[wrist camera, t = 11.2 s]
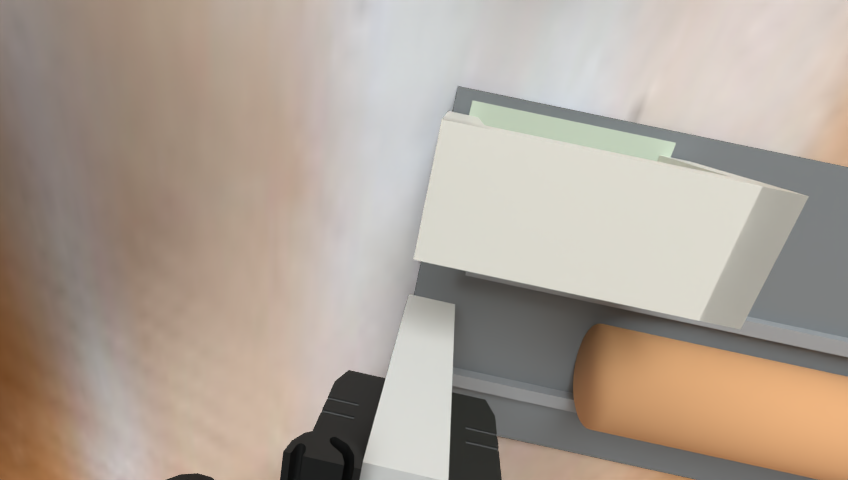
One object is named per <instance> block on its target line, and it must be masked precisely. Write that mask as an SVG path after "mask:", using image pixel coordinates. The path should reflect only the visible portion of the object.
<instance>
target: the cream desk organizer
mask: <svg viewBox="0 0 848 480" xmlns="http://www.w3.org/2000/svg"><path fill="white" fill-rule="evenodd" d="M808 197H809V196H807V195H803V194H800V193H796V192H793V191H790V190H786V189H783V188H779V187H776V186H772V185H769V184H766V183H762V182H759V181H755V180H752V179H748V178H745V177H742V176H738V175H735V174H731V173H728V172H725V171H721V170H718V169H714V168H711V167H707V166H704V165H701V164H697V163H694V162H690V161H686V160H681V159H676V158H671V157H667V156H662V155H660V156H659V158H658V161H653V160H648V159H643V158H638V157H634V156H629V155H624V154H619V153H614V152H610V151H605V150H600V149H595V148H591V147H586V146H581V145H576V144H571V143H567V142H562V141H557V140H552V139H548V138H543V137H538V136H533V135H528V134H524V133H519V132H514V131H509V130H504V129H500V128H495V127H490V126H485V125H484V124H483V123H482V121H481V120H480V119H479V117H475V116H470V115H466V114H461V113H456V112H451V111H448V112H447V113H446V114H445V116H444V117H443V118H442V120H441V125H440V130H439V135H438V140H437V145H436V150H435V155H434V160H433V165H432V170H431V175H430V180H429V185H428V189H427V194H426V199H425V204H424V209H423V214H422V219H421V224H420V229H419V234H418V239H417V244H416V249H415V254H414V259H413V260H417V261H422V262H427V263H431V264H436V265H441V266H445V267H450V268H455V269H459V270H464V271H469V272H473V273H478V274H483V275H487V276H492V277H497V278H501V279H506V280H511V281H515V282H520V283H525V284H529V285H534V286H539V287H543V288H548V289H553V290H557V291H562V292H567V293H571V294H576V295H581V296H585V297H590V298H595V299H599V300H604V301H609V302H613V303H618V304H623V305H627V306H632V307H637V308H641V309H646V310H651V311H655V312H660V313H665V314H669V315H674V316H679V317H683V318H688V319H693V320H697V321H702V322H707V323H711V324H716V325H721V326H725V327H730V328H735V329H739V330H740V329H741V327H742V326H743V324H744V322H745V320H746V318H747V316H748V314H749V312H750V310H751V308H752V306H753V304H754V302H755V300H756V298H757V296H758V294H759V293H760V291H761V289H762V287H763V285H764V283H765V281H766V279H767V277H768V275H769V273H770V271H771V269H772V267H773V265H774V263H775V261H776V259H777V258H778V256H779V254H780V252H781V250H782V248H783V246H784V244H785V242H786V240H787V238H788V236H789V234H790V232H791V230H792V228H793V226H794V225H795V223H796V221H797V219H798V217H799V215H800V213H801V211H802V209H803V207H804V205H805V203H806V201H807V199H808Z"/></svg>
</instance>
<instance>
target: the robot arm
mask: <svg viewBox="0 0 848 480" xmlns="http://www.w3.org/2000/svg"><path fill="white" fill-rule="evenodd" d="M454 321H455V304H452V303H447V302H443V301H438V300H434V299H429V298H425V297H420V296H416V295H411V294H409V295H408V299H407V303H406V306H405V310H404V314H403V317H402V321H401V324H400V328H399V332H398V335H397V339H396V343H395V346H394V350H393V354H392V357H391V361H390V365H389V368H388V372H387V375H386V378H381V377H377V376H372V375H368V374H363V373H359V372H355V371H350V370H349V371H347V372H346V373H345V374H344V375H342V376H341V377H340V378H339V379H337V380H336V381H335V383H334V385H333V387H332V389H331V392H330V394H329V396H328V399H327V400H326V403H325V405H324V407H323V409H322V413H321V414H320V416H319V418H318V420H317V423H316V425H315V427H314V429H313V431H311V432H307V433H304V434H302V435H301V436H299V437H297V438H296V439H294V440H292V441H291V443H290V444H289V445H288V446H287V448H286V449H285V450H284V451H283V460H282V468H281V477H280V480H501V470H500V460H499V451H498V440H497V437H496V435H497V430H496V420H495V415H494V413H493V412H492V410H491V408H490V406H489V405H488V403H487V401H486V400H485V399H480V398H476V397H472V396H467V395H463V394H458V393H454V392H452V374H453V347H454ZM167 480H214V479H213V478H212V477H208V476H205V475H201V474H198V473H197V474H182V475H178V476H175V477H172V478H169V479H167Z"/></svg>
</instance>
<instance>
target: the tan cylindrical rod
mask: <svg viewBox="0 0 848 480" xmlns="http://www.w3.org/2000/svg"><path fill="white" fill-rule="evenodd" d="M573 395H574V403H575V408H576V412H577V415H578V418H579V420H580V422H581V423H582V424H583V426H584V427H586V428H587V429H590V430H594V431H599V432H603V433H608V434H612V435H617V436H622V437H626V438H631V439H635V440H640V441H644V442H649V443H654V444H658V445H663V446H667V447H672V448H676V449H681V450H686V451H690V452H695V453H699V454H704V455H708V456H713V457H718V458H722V459H727V460H731V461H736V462H740V463H745V464H749V465H754V466H759V467H763V468H768V469H772V470H777V471H781V472H786V473H791V474H795V475H800V476H804V477H809V478H813V479H818V480H848V377H847V376H843V375H838V374H833V373H829V372H824V371H819V370H815V369H810V368H805V367H801V366H796V365H791V364H787V363H782V362H778V361H773V360H768V359H764V358H759V357H754V356H750V355H745V354H740V353H736V352H731V351H726V350H722V349H717V348H712V347H708V346H703V345H699V344H694V343H689V342H685V341H680V340H675V339H671V338H666V337H661V336H657V335H652V334H647V333H643V332H638V331H633V330H629V329H624V328H620V327H615V326H610V325H606V324H596V325H594V326H592V327H591V328H590V329H589V330H588V332H587V333H586V335H585V336H584V338H583V340H582V343H581V345H580V348H579V351H578V354H577V357H576V362H575V368H574V377H573Z"/></svg>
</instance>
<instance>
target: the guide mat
mask: <svg viewBox="0 0 848 480" xmlns="http://www.w3.org/2000/svg"><path fill="white" fill-rule="evenodd" d="M453 112H456V113H461V114H466V115H470V116H475V117H479V119H480V120H481V121H482V123H483V124H484V125H485V126H490V127H495V128H500V129H504V130H509V131H514V132H519V133H524V134H528V135H533V136H538V137H543V138H548V139H552V140H557V141H562V142H567V143H571V144H576V145H581V146H586V147H591V148H595V149H600V150H605V151H610V152H614V153H619V154H624V155H629V156H634V157H638V158H643V159H648V160H653V161H658V158H659V156H660V155H662V156H667V157H671V158H676V159H681V160H686V161H690V162H694V163H697V164H701V165H704V166H707V167H711V168H714V169H718V170H721V171H725V172H728V173H731V174H735V175H738V176H742V177H745V178H748V179H752V180H755V181H759V182H762V183H766V184H769V185H772V186H776V187H779V188H783V189H786V190H790V191H793V192H796V193H800V194H803V195H807V196H809V197H808V199H807V201H806V203H805V205H804V207H803V209H802V211H801V213H800V215H799V217H798V219H797V221H796V223H795V225H794V226H793V228H792V230H791V232H790V234H789V236H788V238H787V240H786V242H785V244H784V246H783V248H782V250H781V252H780V254H779V256H778V258H777V259H776V261H775V263H774V265H773V267H772V269H771V271H770V273H769V275H768V277H767V279H766V281H765V283H764V285H763V287H762V289H761V291H760V293H759V294H758V296H757V298H756V300H755V302H754V304H753V306H752V308H751V310H750V312H749V314H748V316H747V318H746V320H745V322H744V324H743V326H742V327H741V329H740V330H739V329H735V328H730V327H725V326H721V325H716V324H711V323H707V322H702V321H697V320H693V319H688V318H683V317H679V316H674V315H669V314H665V313H660V312H655V311H651V310H646V309H641V308H637V307H632V306H627V305H623V304H618V303H613V302H609V301H604V300H599V299H595V298H590V297H585V296H581V295H576V294H571V293H567V292H562V291H557V290H553V289H548V288H543V287H539V286H534V285H529V284H525V283H520V282H515V281H511V280H506V279H501V278H497V277H492V276H487V275H483V274H478V273H473V272H469V271H464V270H459V269H455V268H450V267H445V266H441V265H436V264H431V263H427V262H422V261H421V264H420V269H419V274H418V278H417V283H416V288H415V293H414V295H416V296H420V297H425V298H429V299H434V300H438V301H443V302H447V303H452V304H455V321H454V347H453V374H452V392H454V393H458V394H463V395H467V396H472V397H476V398H480V399H485V400H486V401H487V403H488V405H489V406H490V408H491V410H492V412H493V413H494V415H495V420H496V430H497V435H496V436H500V437H505V438H509V439H514V440H518V441H523V442H528V443H532V444H537V445H541V446H546V447H550V448H555V449H559V450H564V451H568V452H573V453H578V454H582V455H587V456H591V457H596V458H600V459H605V460H609V461H614V462H619V463H623V464H628V465H632V466H637V467H641V468H646V469H650V470H655V471H660V472H664V473H669V474H673V475H678V476H682V477H687V478H691V479H696V480H818V479H813V478H809V477H804V476H800V475H795V474H791V473H786V472H781V471H777V470H772V469H768V468H763V467H759V466H754V465H749V464H745V463H740V462H736V461H731V460H727V459H722V458H718V457H713V456H708V455H704V454H699V453H695V452H690V451H686V450H681V449H676V448H672V447H667V446H663V445H658V444H654V443H649V442H644V441H640V440H635V439H631V438H626V437H622V436H617V435H612V434H608V433H603V432H599V431H594V430H590V429H587V428H586V427H584V426H583V424H582V423H581V422H580V420H579V418H578V415H577V412H576V408H575V403H574V395H573V377H574V368H575V362H576V357H577V354H578V351H579V348H580V345H581V343H582V340H583V338H584V336H585V335H586V333H587V332H588V330H589V329H590V328H591V327H592V326H594V325H596V324H606V325H610V326H615V327H620V328H624V329H629V330H633V331H638V332H643V333H647V334H652V335H657V336H661V337H666V338H671V339H675V340H680V341H685V342H689V343H694V344H699V345H703V346H708V347H712V348H717V349H722V350H726V351H731V352H736V353H740V354H745V355H750V356H754V357H759V358H764V359H768V360H773V361H778V362H782V363H787V364H791V365H796V366H801V367H805V368H810V369H815V370H819V371H824V372H829V373H833V374H838V375H843V376H847V377H848V167H844V166H839V165H835V164H830V163H825V162H820V161H815V160H810V159H806V158H801V157H796V156H791V155H786V154H782V153H777V152H772V151H767V150H762V149H758V148H753V147H748V146H743V145H738V144H734V143H729V142H724V141H719V140H714V139H710V138H705V137H700V136H695V135H690V134H686V133H681V132H676V131H671V130H666V129H661V128H657V127H652V126H647V125H642V124H637V123H633V122H628V121H623V120H618V119H613V118H609V117H604V116H599V115H594V114H589V113H585V112H580V111H575V110H570V109H565V108H561V107H556V106H551V105H546V104H541V103H537V102H532V101H527V100H522V99H517V98H512V97H508V96H503V95H498V94H493V93H488V92H484V91H479V90H474V89H469V88H464V87H460V86H458V88H457V92H456V97H455V102H454V107H453Z"/></svg>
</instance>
